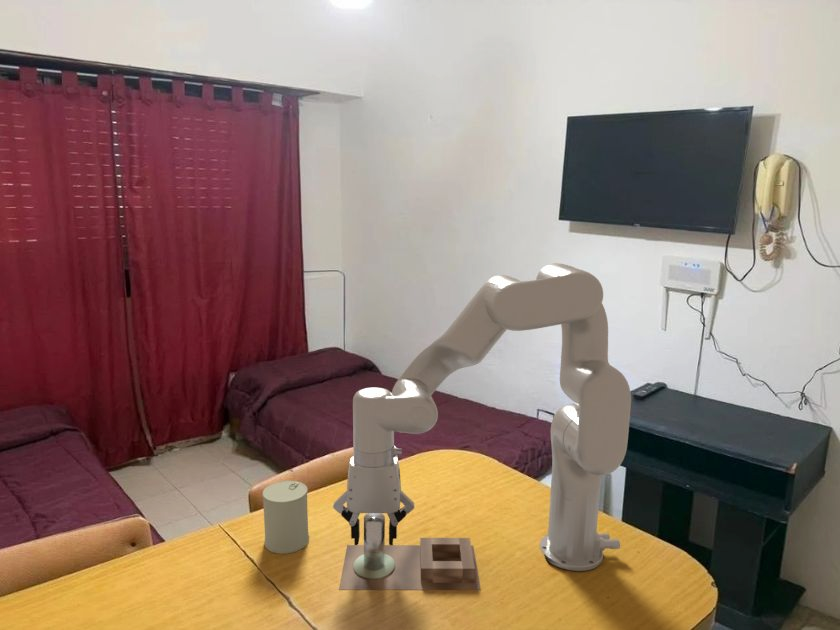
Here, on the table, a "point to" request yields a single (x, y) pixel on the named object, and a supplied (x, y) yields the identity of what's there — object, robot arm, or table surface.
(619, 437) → the robot arm
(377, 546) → the peg
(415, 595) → the table surface
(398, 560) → the pocket board
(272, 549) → the can
